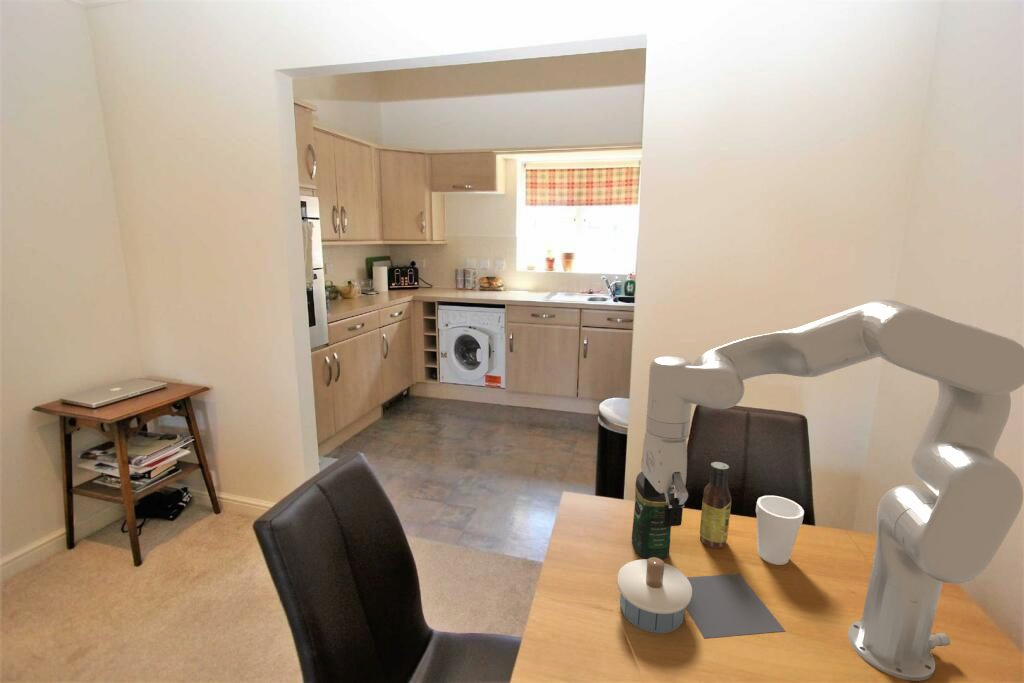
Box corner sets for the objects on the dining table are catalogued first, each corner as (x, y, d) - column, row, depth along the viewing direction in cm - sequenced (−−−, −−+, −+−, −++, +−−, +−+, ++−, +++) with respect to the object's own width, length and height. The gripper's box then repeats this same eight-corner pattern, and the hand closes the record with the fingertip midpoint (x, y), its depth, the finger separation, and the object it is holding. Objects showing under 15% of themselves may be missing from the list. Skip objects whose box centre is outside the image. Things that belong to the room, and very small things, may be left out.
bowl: (668, 587, 108) (670, 564, 106) (694, 631, 96) (696, 607, 95) (613, 591, 106) (614, 568, 105) (632, 637, 95) (634, 612, 94)
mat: (739, 575, 112) (739, 573, 111) (785, 632, 96) (785, 630, 96) (669, 580, 110) (669, 578, 110) (704, 639, 94) (704, 638, 94)
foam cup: (802, 573, 112) (810, 520, 109) (757, 568, 114) (764, 516, 111) (787, 546, 121) (794, 497, 118) (745, 542, 123) (752, 493, 120)
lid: (673, 561, 108) (675, 538, 106) (704, 610, 94) (707, 585, 93) (608, 566, 106) (609, 542, 105) (631, 617, 92) (633, 591, 91)
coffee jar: (673, 561, 116) (680, 487, 112) (639, 562, 116) (644, 488, 111) (659, 535, 125) (665, 466, 121) (627, 536, 125) (632, 467, 121)
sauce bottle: (729, 551, 119) (738, 474, 115) (700, 548, 121) (709, 471, 116) (723, 535, 126) (732, 461, 121) (696, 531, 127) (704, 458, 122)
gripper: (631, 409, 100) (626, 488, 104) (667, 447, 83) (660, 539, 87) (668, 407, 101) (662, 485, 105) (710, 444, 84) (701, 536, 88)
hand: (661, 510), depth 96 cm, fingers open, 9 cm apart
